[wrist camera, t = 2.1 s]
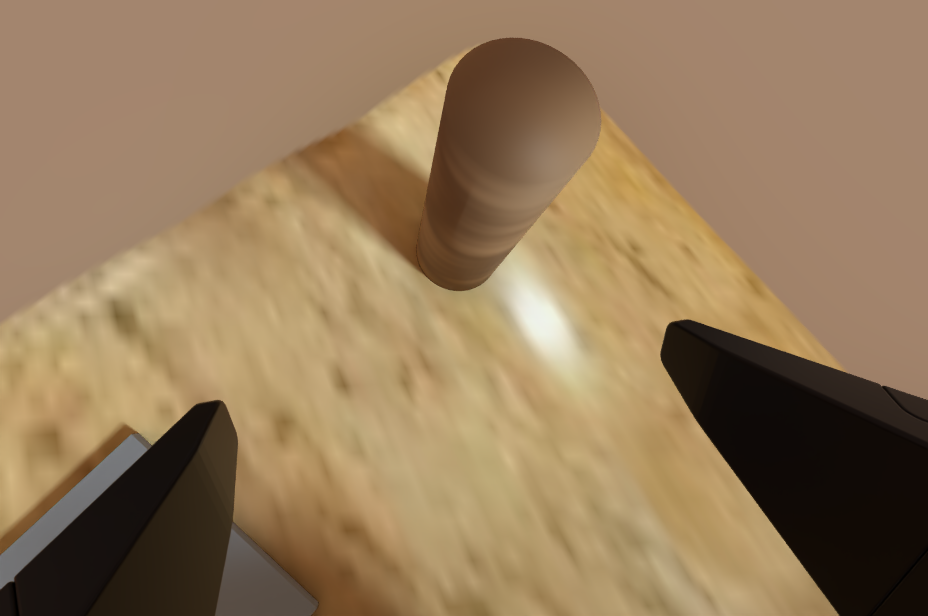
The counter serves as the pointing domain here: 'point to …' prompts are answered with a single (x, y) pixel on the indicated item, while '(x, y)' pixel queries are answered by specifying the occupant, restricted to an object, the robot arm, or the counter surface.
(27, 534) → the slate mat
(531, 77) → the walnut peg
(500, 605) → the counter surface
